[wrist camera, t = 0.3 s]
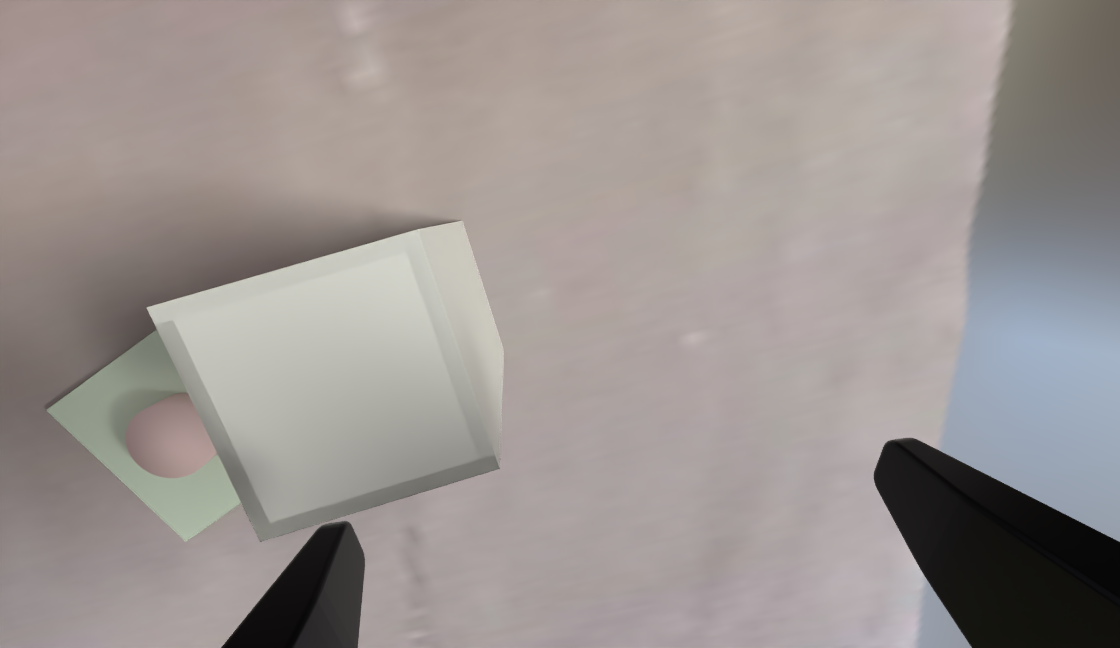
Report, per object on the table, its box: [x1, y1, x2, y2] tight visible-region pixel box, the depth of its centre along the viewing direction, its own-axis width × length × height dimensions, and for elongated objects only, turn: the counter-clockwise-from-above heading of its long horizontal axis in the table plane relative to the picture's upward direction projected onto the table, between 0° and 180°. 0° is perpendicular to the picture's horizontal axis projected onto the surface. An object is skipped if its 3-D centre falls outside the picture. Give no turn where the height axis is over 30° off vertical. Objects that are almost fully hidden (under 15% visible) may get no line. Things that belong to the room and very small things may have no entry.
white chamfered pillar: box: [146, 221, 504, 542], centre depth 17 cm, size 6×6×11 cm
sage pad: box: [46, 329, 241, 542], centre depth 22 cm, size 8×8×1 cm
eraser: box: [125, 393, 217, 478], centre depth 22 cm, size 3×3×2 cm
